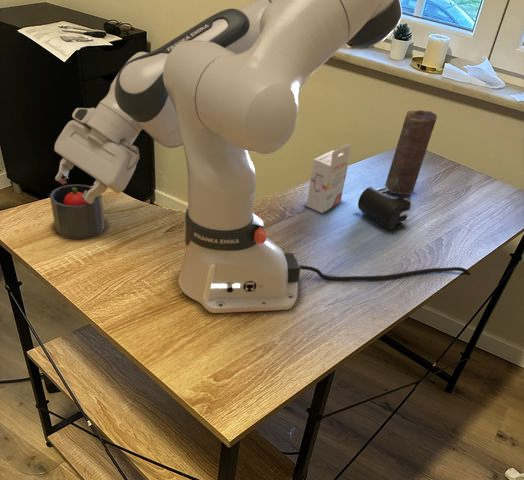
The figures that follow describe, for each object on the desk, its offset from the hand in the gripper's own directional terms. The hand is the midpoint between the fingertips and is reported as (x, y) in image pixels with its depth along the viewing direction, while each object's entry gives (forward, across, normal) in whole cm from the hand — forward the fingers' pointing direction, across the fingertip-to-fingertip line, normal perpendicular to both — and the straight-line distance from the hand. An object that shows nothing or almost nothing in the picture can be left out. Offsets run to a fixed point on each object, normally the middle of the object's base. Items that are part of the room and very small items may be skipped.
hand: (72, 191), depth 104 cm
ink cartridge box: (-31, -23, -43) cm, 58 cm away
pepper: (+5, 0, -6) cm, 7 cm away
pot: (+5, 0, -6) cm, 8 cm away
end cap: (-35, -37, -46) cm, 68 cm away
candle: (-47, -30, -59) cm, 81 cm away
